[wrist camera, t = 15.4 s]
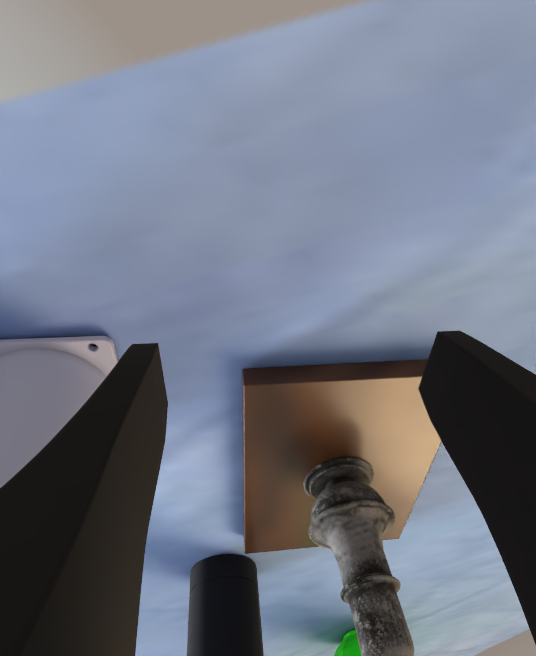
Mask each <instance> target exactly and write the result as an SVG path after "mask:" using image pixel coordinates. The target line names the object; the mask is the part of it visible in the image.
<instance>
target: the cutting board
mask: <svg viewBox="0 0 536 656" xmlns="http://www.w3.org/2000/svg"><path fill="white" fill-rule="evenodd" d="M427 361H428V360H415V361H394V362H374V363H354V364H333V365H313V366H292V367H272V368H251V369H243V370H242V396H243V496H244V548H245V554H248V553H258V552H268V551H278V550H288V549H298V548H308V547H318V545H317V544H315V543H314V542H313V541H312V540H311V539H310V537H309V531H308V530H309V527H310V524H311V512H312V507H313V504H314V501H315V500H316V499H313V498H312V497H310V496H309V495H307V493H306V492H305V490H304V485H303V482H304V479H305V477H306V475H307V474H308V473H309V471H311V470H312V469H313V468H314V467H316V466H317V465H319V464H321V463H323V462H325V461H328V460H331V459H335V458H341V457H354V458H359V459H362V460H364V461H367V462H368V463H369V464H370V465H371V466H372V469H373V471H374V478H373V480H372V482H371V484H370V485H369V486H370V487H372V488H373V489H374V490H376V491H377V492H378V494H379V495H380V496H381V497H382V498H383V499H384V502H385V504H387V505H388V506H389V507H390V508H392V509H393V512H394V514H395V522H394V524H393V526H392V528H391V529H390V530H389V531H388V532H387V533H386V534H385V535H384V536H382V540H389V539H399V537H400V535H401V533H402V531H403V528H404V526H405V524H406V521H407V519H408V517H409V515H410V512H411V510H412V508H413V505H414V503H415V501H416V499H417V496H418V494H419V492H420V489H421V487H422V485H423V483H424V480H425V478H426V476H427V473H428V471H429V469H430V467H431V464H432V462H433V460H434V457H435V455H436V453H437V451H438V448H439V446H440V444H441V439H440V437H439V435H438V434H437V432H436V430H435V428H434V426H433V424H432V423H431V420H430V418H429V416H428V413H427V411H426V408H425V406H424V403H423V400H422V398H421V395H420V392H419V390H418V388H419V385H420V382H421V379H422V376H423V373H424V370H425V367H426V364H427Z"/></svg>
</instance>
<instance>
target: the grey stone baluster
mask: <svg viewBox="0 0 536 656" xmlns="http://www.w3.org/2000/svg"><path fill="white" fill-rule="evenodd" d="M373 478H374V471H373V469H372V466H371V465H370V464H369V463H368V462H367V461H364V460H362V459H359V458H354V457H341V458H335V459H331V460H328V461H325V462H323V463H321V464H319V465H317V466H316V467H314V468H313V469H312V470H311V471H309V473H308V474H307V475H306V477H305V479H304V482H303V485H304V490H305V492H306V493H307V495H309V496H310V497H312V498H313V499H316V500H315V501H314V504H313V507H312V512H311V524H310V527H309V530H308V531H309V537H310V539H311V540H312V541H313V542H314V543H315V544H317V545H318V546H320V547H324V548H327V549H332V551H333V553H334V555H335V557H336V559H337V561H338V565H339V569H340V573H341V577H342V582H343V586H344V588H343V589H342V591H341V599H342V600H343V601H344V602H346V603H348V604H349V605H350V609H351V613H352V617H353V622H354V626H355V630H356V634H357V638H358V642H359V646H360V650H361V655H362V656H413V654H414V646H413V641H412V638H411V635H410V632H409V629H408V626H407V623H406V620H405V617H404V614H403V611H402V608H401V605H400V602H399V599H398V596H397V592H398V590H399V589H400V582H399V580H398V579H396V578H395V577H392V574H391V571H390V568H389V565H388V562H387V560H386V557H385V554H384V550H383V542H382V536H384V535H385V534H386V533H387V532H388V531H389V530H390V529H391V528H392V526H393V524H394V522H395V514H394V512H393V509H392V508H390V507H389V506H388V505H387V504H385V502H384V499H383V498H382V497H381V496H380V495H379V494H378V492H377V491H376V490H374V489H373V488H372V487H370V486H369V485H370V484H371V482H372V480H373Z"/></svg>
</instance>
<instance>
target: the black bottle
mask: <svg viewBox="0 0 536 656" xmlns="http://www.w3.org/2000/svg"><path fill="white" fill-rule="evenodd" d="M187 656H264V655H263V643H262V630H261V618H260V605H259V593H258V581H257V568H256V565H255V563H254V562H253V561H252V560H251V559H249V558H247V557H244V556H239V555H219V556H214V557H210V558H207V559H204V560H202V561H200V562H199V563H197V564H196V565H195V566H194V567H193V568H192V570H191V578H190V600H189V621H188V643H187Z"/></svg>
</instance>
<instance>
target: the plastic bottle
mask: <svg viewBox="0 0 536 656" xmlns="http://www.w3.org/2000/svg"><path fill="white" fill-rule="evenodd" d="M343 639H344V640H343V641H342V642H341V643H340V645H339V647H338V648H337V650H336V653H335V655H334V656H362V655H361V650H360V646H359V642H358V638H357V634H356V630H352V631H350V632H348V633H347V634H346V635H344V636H343Z"/></svg>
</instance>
